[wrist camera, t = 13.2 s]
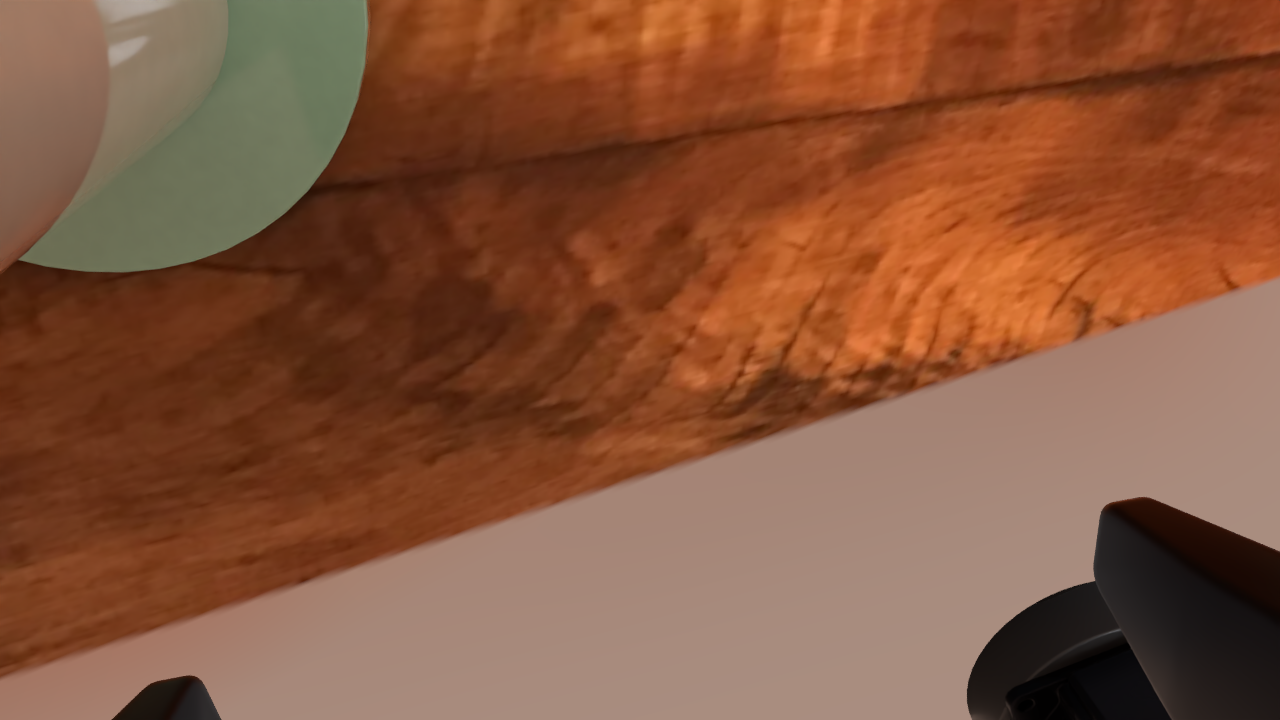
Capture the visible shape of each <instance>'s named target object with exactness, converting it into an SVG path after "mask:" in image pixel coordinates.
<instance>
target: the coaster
mask: <svg viewBox="0 0 1280 720" xmlns="http://www.w3.org/2000/svg"><path fill="white" fill-rule="evenodd" d="M227 4H228V38H227V44H226V51H225V56H224V59H223V63H222V66H221V69H220V72H219V75H218V77H217V79H216V81H215V83H214V86H213V88H212V90H211V92H210V93H209V95H208V96H207V98H206V99H205V101H204V102H203V103H202V105H201V106H200V108H199V109H198V110H197V111H196V112H195V113H194V114H193V115H192V116H191V117H190V118H189V119H188V120H187V121H186V122H185V123H184V124H183V125H182V126H180V127H179V128H178V129H177V130H176V131H174V132H173V133H172V134H171V135H169V136H168V137H167V138H166V139H165V140H163V141H162V142H161V143H160V144H158V145H157V146H156V147H155V148H154V149H152V150H151V151H150V152H149V153H147V154H146V155H145V156H144V157H143V158H141V159H140V160H139V161H138V162H136V163H135V164H134V165H133V166H132V167H130V168H129V169H128V170H127V171H126V172H124V173H123V174H122V175H121V176H119V177H118V178H117V179H116V180H115V181H113V182H112V183H111V184H110V185H108V186H107V187H106V188H105V189H104V190H102V191H101V192H100V193H99V194H97V195H96V196H95V197H94V198H93V199H91V200H90V201H89V202H88V203H86V204H85V205H84V206H83V207H82V208H80V209H79V210H78V211H77V212H75V213H74V214H73V215H72V216H71V217H69V218H68V219H67V220H66V221H64V222H63V223H62V224H61V225H60V226H58V227H57V228H56V229H55V230H54V231H52V232H51V233H50V234H49V235H47V236H46V237H45V238H44V239H43V240H41V241H40V242H39V243H38V244H36V245H35V246H34V247H33V248H32V249H30V250H29V251H28V252H27V253H25V254H24V255H23V256H22V257H21V258H19V259H18V260H21V261H25V262H29V263H33V264H38V265H42V266H46V267H53V268H61V269H69V270H77V271H85V272H133V271H143V270H153V269H162V268H167V267H171V266H176V265H180V264H185V263H189V262H193V261H197V260H200V259H203V258H205V257H208V256H211V255H214V254H216V253H219V252H222V251H224V250H227V249H229V248H231V247H233V246H235V245H237V244H239V243H241V242H243V241H245V240H246V239H248V238H250V237H252V236H254V235H256V234H258V233H259V232H261V231H262V230H263V229H265V228H266V227H267V226H269V225H270V224H272V223H273V222H274V221H276V220H277V219H278V218H280V217H281V216H283V215H284V214H285V213H286V212H287V211H288V210H289V209H290V208H291V207H292V206H293V205H294V204H295V203H296V202H297V201H299V200H300V199H301V198H302V197H303V196H304V195H305V194H306V193H307V192H308V191H309V189H310V188H311V187H312V186H313V184H314V183H315V182H316V180H317V179H318V178H319V176H320V175H321V174H322V172H323V171H324V170H325V168H326V167H327V166H328V164H329V163H330V161H331V159H332V157H333V156H334V154H335V152H336V150H337V148H338V146H339V145H340V143H341V141H342V139H343V137H344V135H345V134H346V132H347V130H348V128H349V125H350V122H351V120H352V117H353V114H354V111H355V109H356V106H357V103H358V101H359V98H360V94H361V90H362V85H363V80H364V76H365V71H366V67H367V62H368V51H369V38H370V25H371V18H370V0H227Z"/></svg>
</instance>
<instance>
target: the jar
mask: <svg viewBox="0 0 1280 720" xmlns="http://www.w3.org/2000/svg"><path fill="white" fill-rule="evenodd" d="M227 38H228V4H227V0H0V274H1V273H2V272H3V271H5V270H6V269H7V268H8V267H10V266H11V265H12V264H13V263H14V262H16V261H17V260H18V259H19V258H21V257H22V256H23V255H24V254H25V253H27V252H28V251H29V250H30V249H32V248H33V247H34V246H35V245H36V244H38V243H39V242H40V241H41V240H43V239H44V238H45V237H46V236H47V235H49V234H50V233H51V232H52V231H54V230H55V229H56V228H57V227H58V226H60V225H61V224H62V223H63V222H64V221H66V220H67V219H68V218H69V217H71V216H72V215H73V214H74V213H75V212H77V211H78V210H79V209H80V208H82V207H83V206H84V205H85V204H86V203H88V202H89V201H90V200H91V199H93V198H94V197H95V196H96V195H97V194H99V193H100V192H101V191H102V190H104V189H105V188H106V187H107V186H108V185H110V184H111V183H112V182H113V181H115V180H116V179H117V178H118V177H119V176H121V175H122V174H123V173H124V172H126V171H127V170H128V169H129V168H130V167H132V166H133V165H134V164H135V163H136V162H138V161H139V160H140V159H141V158H143V157H144V156H145V155H146V154H147V153H149V152H150V151H151V150H152V149H154V148H155V147H156V146H157V145H158V144H160V143H161V142H162V141H163V140H165V139H166V138H167V137H168V136H169V135H171V134H172V133H173V132H174V131H176V130H177V129H178V128H179V127H180V126H182V125H183V124H184V123H185V122H186V121H187V120H188V119H189V118H190V117H191V116H192V115H193V114H194V113H195V112H196V111H197V110H198V109H199V108H200V106H201V105H202V103H203V102H204V101H205V99H206V98H207V96H208V95H209V93H210V92H211V90H212V88H213V86H214V83H215V81H216V79H217V77H218V75H219V72H220V69H221V66H222V63H223V59H224V56H225V51H226V44H227Z"/></svg>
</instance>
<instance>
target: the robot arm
mask: <svg viewBox="0 0 1280 720" xmlns="http://www.w3.org/2000/svg"><path fill="white" fill-rule="evenodd" d="M1094 577H1095V581H1096V584H1097V586H1098V589H1099V591H1100V593H1101V595H1102V597H1103V598H1104V600H1105V602H1106V604H1107V606H1108V607H1109V609H1110V611H1111V613H1112V614H1113V616H1114V618H1115V620H1116V622H1117V623H1118V625H1119V627H1120V629H1121V631H1122V632H1123V634H1124V636H1125V638H1126V640H1127V641H1128V643H1125V644H1123V645H1120V646H1118V647H1115V648H1112V649H1110V650H1107V651H1105V652H1102V653H1100V654H1097V655H1095V656H1092V657H1089V658H1087V659H1084V660H1082V661H1079V662H1077V663H1074V664H1071V665H1069V666H1066V667H1064V668H1061V669H1059V670H1056V671H1054V672H1051V673H1048V674H1046V675H1043V676H1041V677H1038V678H1036V679H1033V680H1030V681H1028V682H1025V683H1023V684H1020V685H1018V686H1016V687H1014V688H1012V689H1011V690H1010V691H1009V692H1008V693H1007V694H1006V696H1005V703H1006V707H1007V710H1008V714H1009V717H1010V720H1280V551H1277V550H1275V549H1272V548H1270V547H1268V546H1265V545H1263V544H1260V543H1258V542H1255V541H1253V540H1251V539H1248V538H1246V537H1243V536H1241V535H1238V534H1236V533H1234V532H1231V531H1229V530H1227V529H1224V528H1222V527H1219V526H1217V525H1214V524H1212V523H1210V522H1207V521H1205V520H1202V519H1200V518H1198V517H1195V516H1193V515H1190V514H1188V513H1185V512H1183V511H1180V510H1178V509H1176V508H1173V507H1171V506H1169V505H1166V504H1164V503H1161V502H1159V501H1156V500H1154V499H1151V498H1147V497H1138V498H1133V499H1127V500H1122V501H1117V502H1112V503H1109V504H1107V505H1106V506H1105V507H1104V508H1103V510H1102V511H1101V515H1100V520H1099V528H1098V535H1097V542H1096V550H1095V557H1094ZM112 720H221V718H220V716H219V714H218V712H217V710H216V708H215V706H214V704H213V702H212V700H211V698H210V696H209V694H208V692H207V689H206V688H205V686H204V684H203V682H202V681H201V680H200V679H199V678H197V677H195V676H182V677H177V678H172V679H167V680H161V681H157V682H154V683H151V684H150V685H148V686H147V687H146V688H144V689H143V690H142V691H141V692H140V693H139V694H138V695H137V696H136V697H135V698H134V699H133V700H132V701H131V702H130V703H129V704H128V705H126V706H125V708H123V709H122V710H121V711H120V712H119V713H118V714H117V715H116V716H115V717H114V718H113V719H112Z"/></svg>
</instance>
